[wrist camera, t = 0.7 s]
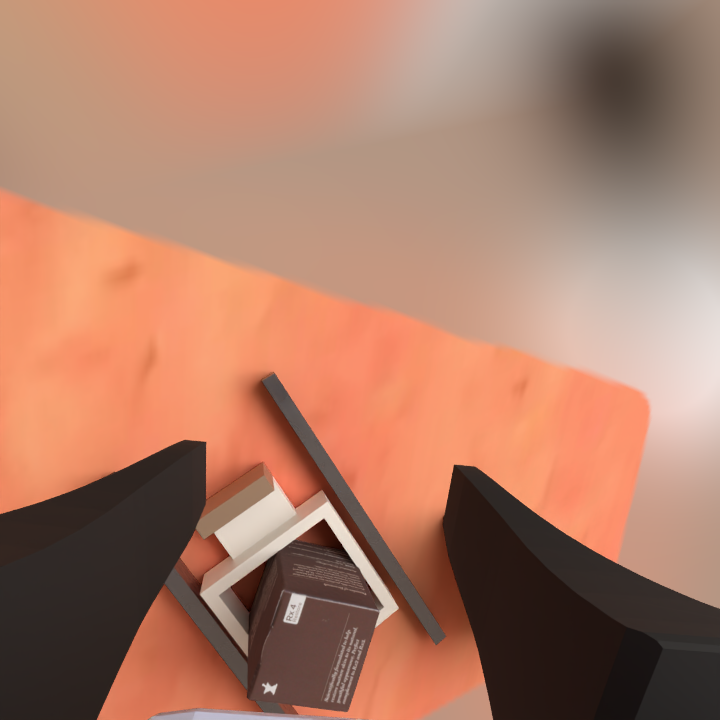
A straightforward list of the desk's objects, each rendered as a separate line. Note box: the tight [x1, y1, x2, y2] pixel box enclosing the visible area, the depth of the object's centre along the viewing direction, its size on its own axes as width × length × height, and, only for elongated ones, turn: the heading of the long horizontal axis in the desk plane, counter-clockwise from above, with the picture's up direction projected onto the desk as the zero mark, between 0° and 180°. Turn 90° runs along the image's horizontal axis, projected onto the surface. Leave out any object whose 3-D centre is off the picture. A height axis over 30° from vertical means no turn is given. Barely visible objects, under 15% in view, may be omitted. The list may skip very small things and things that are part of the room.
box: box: [247, 540, 380, 712], centre depth 26 cm, size 6×6×7 cm
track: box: [110, 372, 446, 715], centre depth 29 cm, size 13×24×2 cm, turn 32°
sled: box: [196, 462, 399, 657], centre depth 28 cm, size 10×14×3 cm
